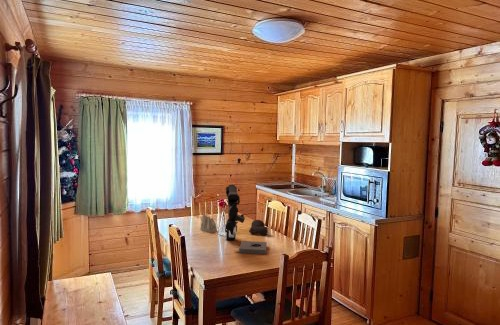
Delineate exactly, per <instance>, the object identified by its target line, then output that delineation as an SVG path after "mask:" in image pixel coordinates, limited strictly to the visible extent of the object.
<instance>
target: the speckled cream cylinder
mask: <svg viewBox="0 0 500 325" xmlns="http://www.w3.org/2000/svg"><path fill="white" fill-rule="evenodd" d="M229 237H236V238H237V232H236V227H234V231H233V235H231V233H230V231H229Z"/></svg>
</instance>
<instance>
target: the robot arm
mask: <svg viewBox="0 0 500 325" xmlns="http://www.w3.org/2000/svg"><path fill="white" fill-rule="evenodd" d="M225 194H226V195H225V196H226V198H227V205H228V206H227V207H228V208H227V209H228V217H227V220H226V221H225V222H226V223H225V226H224V227H225V228H224V232H225V233H226V235H225V241H235V240H236V238H237V236H236V237H229V231H230V233H231V235H233V231H234V227H236V233H237V232H238V225H237V224H238V223H239V222H240V223H242V224H243V223H244V222H245V219H246V216H244V215H245V214H238V212H239V208H238V205H240V203H241V201H240V195H239V194H238V187H237V186H236V185H235V184H229V185H228V186H226V187H225Z"/></svg>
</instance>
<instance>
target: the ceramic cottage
mask: <svg viewBox="0 0 500 325" xmlns="http://www.w3.org/2000/svg"><path fill="white" fill-rule="evenodd" d="M199 230H200V231H201V232H204V233H216V232H218V230H217V222H216V221H215V219H214V218H213V217H211V216H207V215H206V214H205V212H203V213H202V215H201V219H200V229H199Z"/></svg>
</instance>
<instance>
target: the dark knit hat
mask: <svg viewBox="0 0 500 325" xmlns="http://www.w3.org/2000/svg"><path fill="white" fill-rule="evenodd" d="M248 232H249V233H250V234H252V235H261V236H267V235H268V234H269V233H268V232H269V229H268V227H267V226H265V223H264V221H262V220H261V219H254V220H253V221H252V222H251V226H250V228H249V230H248Z"/></svg>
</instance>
